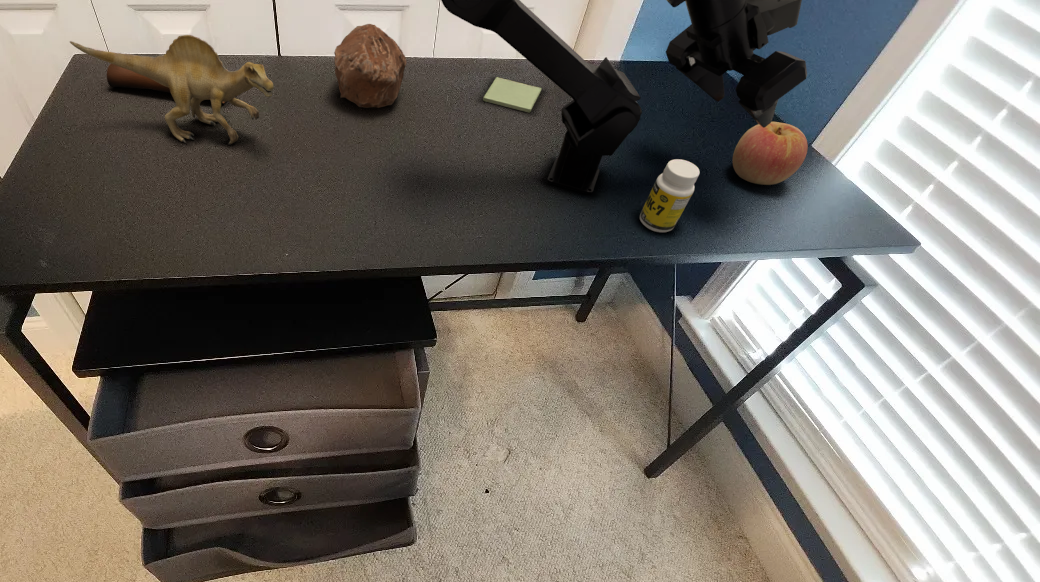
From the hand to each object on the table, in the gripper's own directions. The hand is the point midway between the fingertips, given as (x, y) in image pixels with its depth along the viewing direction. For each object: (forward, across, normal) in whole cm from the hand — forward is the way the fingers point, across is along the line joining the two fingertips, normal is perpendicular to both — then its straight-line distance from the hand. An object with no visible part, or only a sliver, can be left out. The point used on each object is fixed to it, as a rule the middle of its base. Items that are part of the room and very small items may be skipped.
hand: (742, 111), depth 80 cm
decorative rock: (-22, +31, +38) cm, 54 cm away
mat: (-7, +28, +20) cm, 35 cm away
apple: (+13, 0, +1) cm, 13 cm away
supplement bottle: (+1, -6, +18) cm, 19 cm away
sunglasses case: (-42, +39, +61) cm, 83 cm away
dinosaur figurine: (-38, +26, +60) cm, 76 cm away
